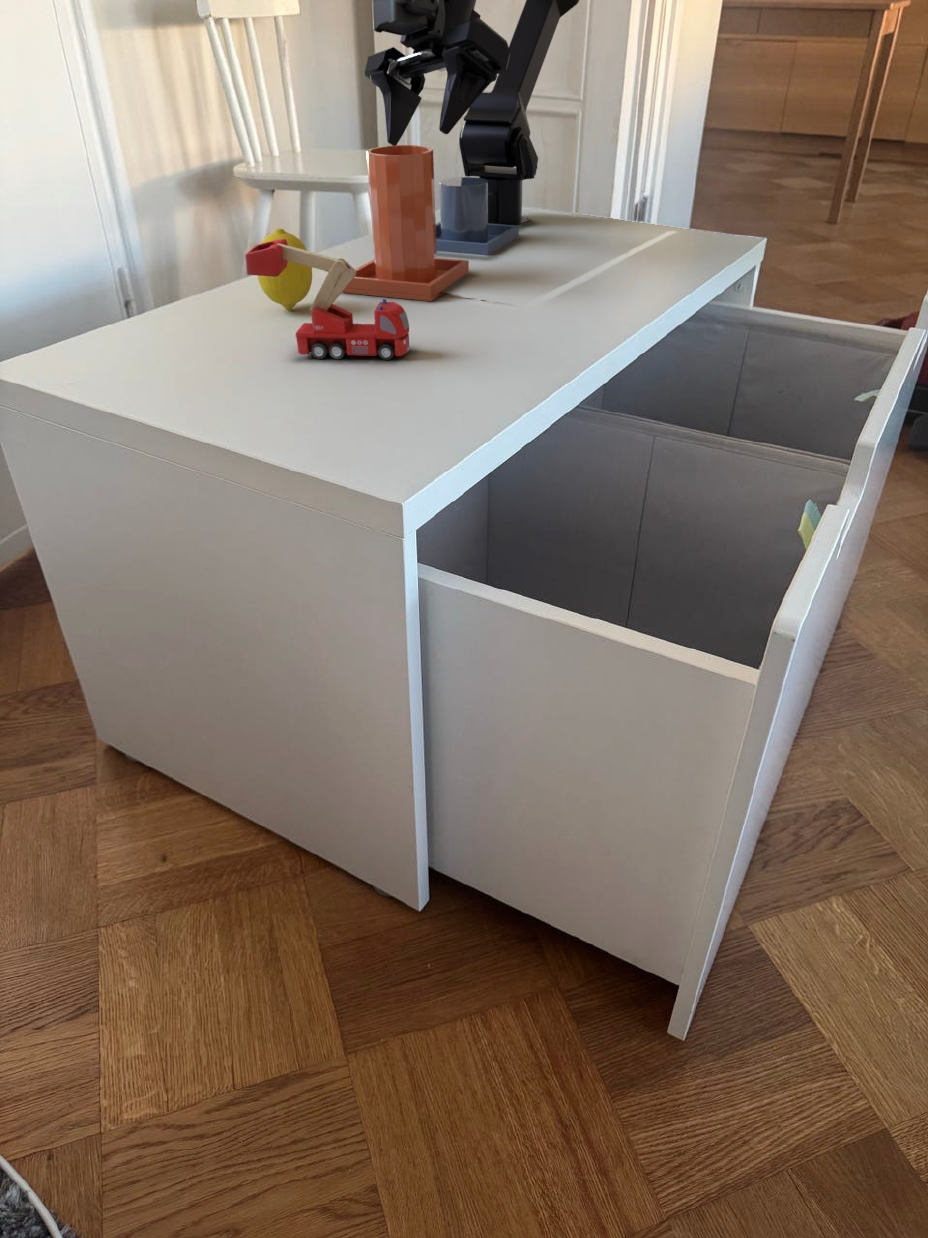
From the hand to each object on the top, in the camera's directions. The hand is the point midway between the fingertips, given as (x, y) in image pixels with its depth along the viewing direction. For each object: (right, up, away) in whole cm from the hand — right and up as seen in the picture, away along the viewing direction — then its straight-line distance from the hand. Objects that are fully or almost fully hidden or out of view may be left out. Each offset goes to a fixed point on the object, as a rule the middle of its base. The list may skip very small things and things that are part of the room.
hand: (416, 138), depth 103 cm
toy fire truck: (-6, -30, -18) cm, 36 cm away
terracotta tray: (-1, -16, 0) cm, 16 cm away
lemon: (-13, -22, -7) cm, 26 cm away
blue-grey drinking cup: (+5, -6, +14) cm, 16 cm away
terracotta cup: (-1, -16, 0) cm, 16 cm away
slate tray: (+5, -6, +14) cm, 16 cm away
